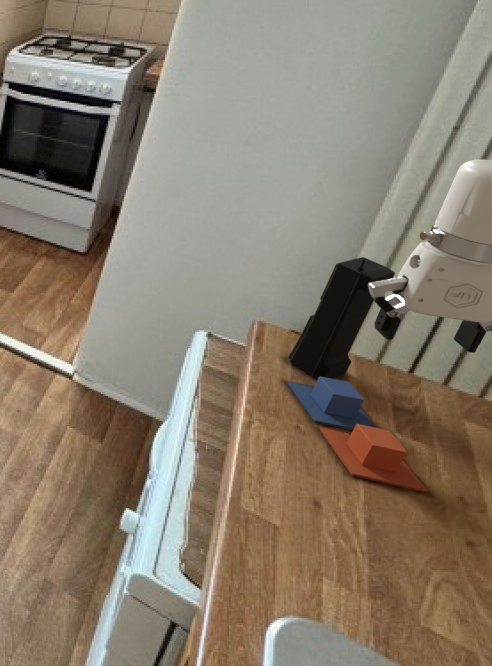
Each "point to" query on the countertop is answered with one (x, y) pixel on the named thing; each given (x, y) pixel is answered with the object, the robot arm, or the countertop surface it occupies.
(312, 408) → the slate mat
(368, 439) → the terracotta block
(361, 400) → the slate block
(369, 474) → the terracotta mat
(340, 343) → the tall black tower box
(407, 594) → the countertop surface
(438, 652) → the countertop surface
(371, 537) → the countertop surface
